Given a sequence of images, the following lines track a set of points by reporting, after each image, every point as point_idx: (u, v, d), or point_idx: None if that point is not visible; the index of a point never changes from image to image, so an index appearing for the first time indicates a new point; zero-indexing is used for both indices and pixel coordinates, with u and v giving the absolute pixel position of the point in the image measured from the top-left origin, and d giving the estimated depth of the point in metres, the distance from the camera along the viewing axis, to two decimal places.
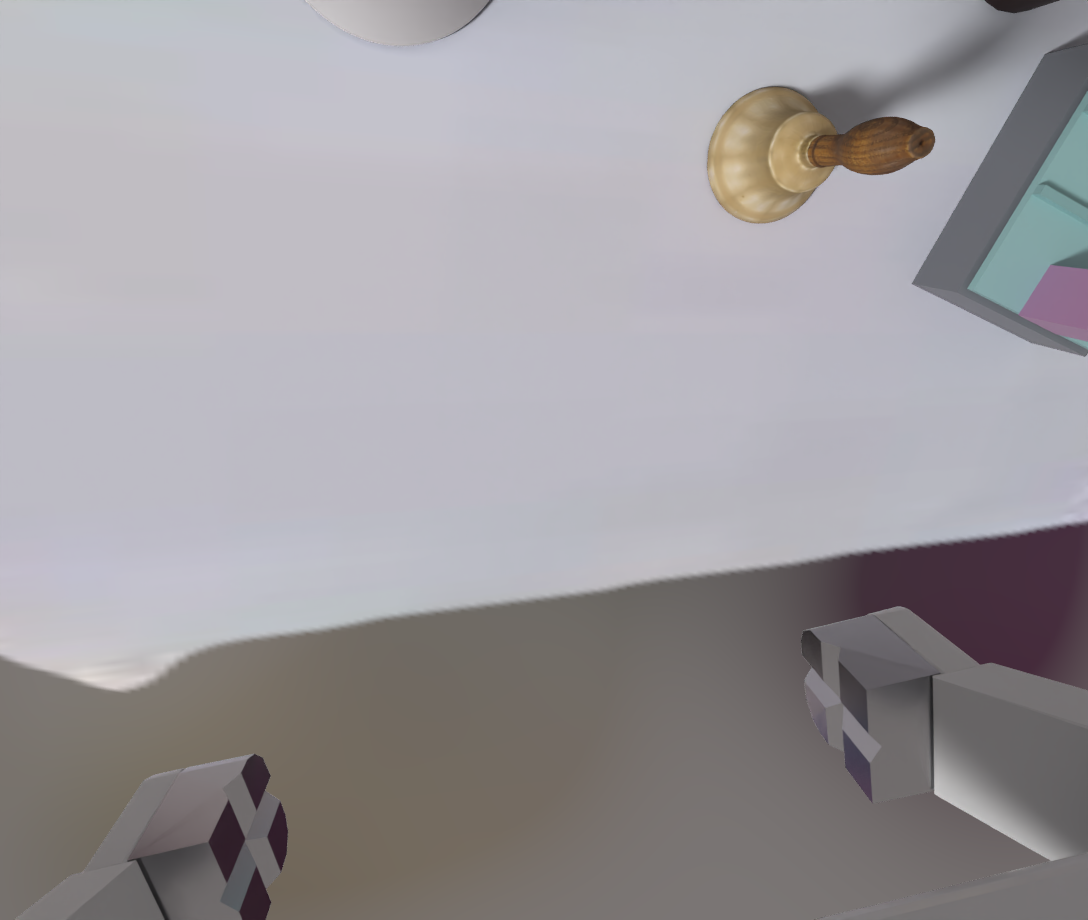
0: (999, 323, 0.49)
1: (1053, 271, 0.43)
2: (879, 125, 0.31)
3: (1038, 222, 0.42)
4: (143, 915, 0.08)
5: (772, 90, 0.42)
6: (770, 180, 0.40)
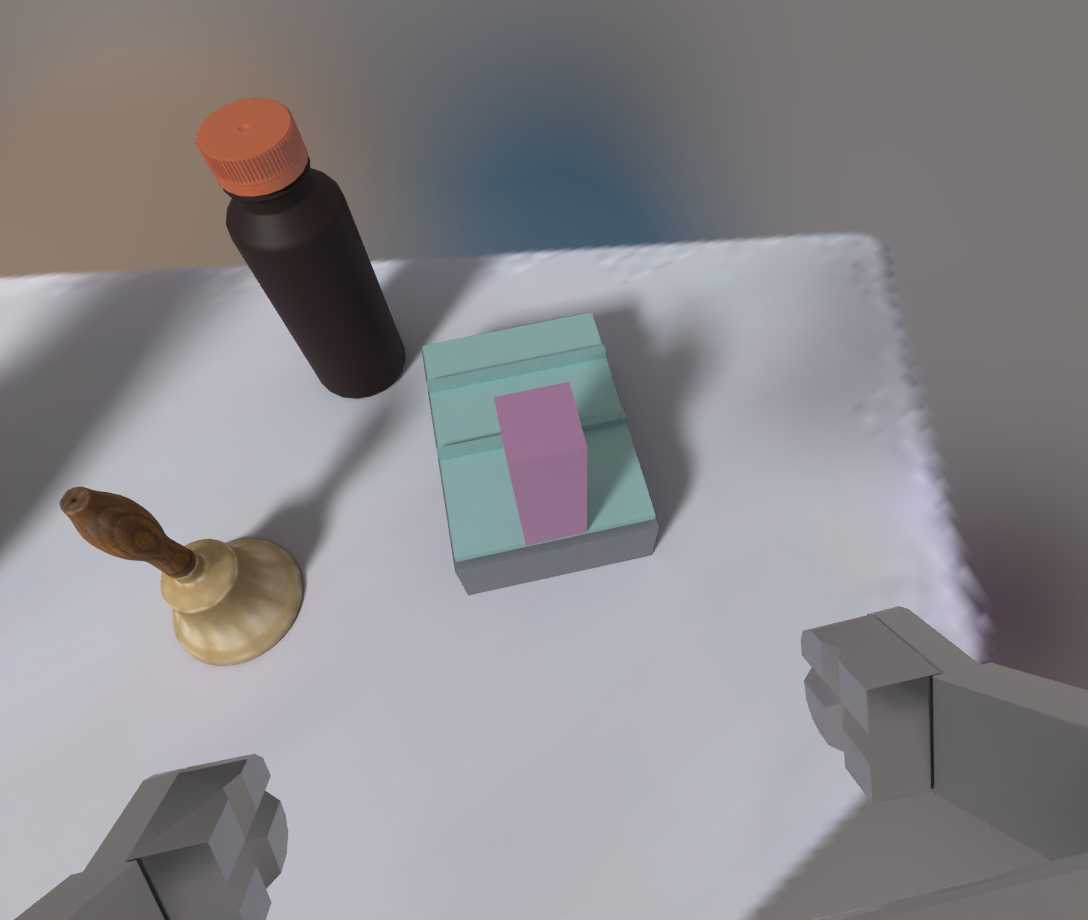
0: (579, 563, 0.41)
1: None
2: None
3: (467, 472, 0.39)
4: (143, 915, 0.08)
5: None
6: (185, 615, 0.37)
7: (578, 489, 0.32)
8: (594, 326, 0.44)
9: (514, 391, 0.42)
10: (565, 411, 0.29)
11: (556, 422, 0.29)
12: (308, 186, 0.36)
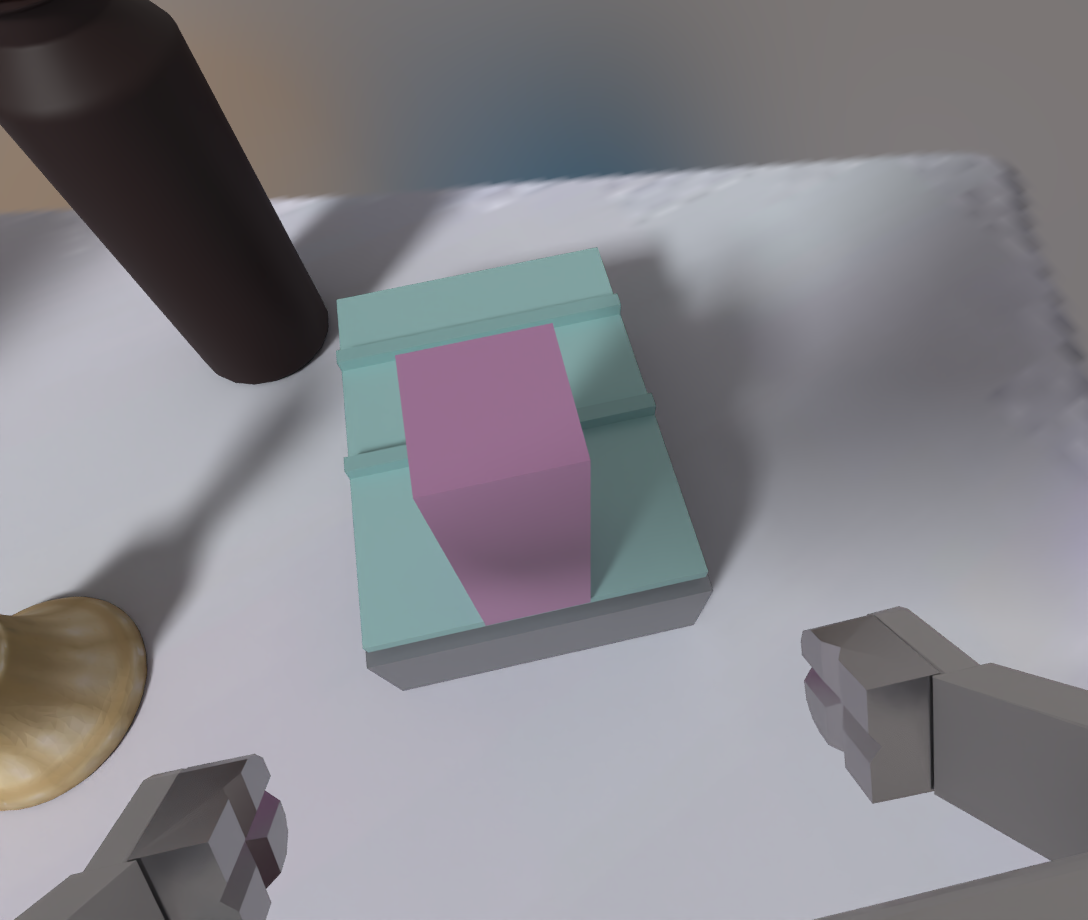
0: (579, 643, 0.25)
1: None
2: None
3: (393, 498, 0.24)
4: (143, 915, 0.08)
5: None
6: None
7: (573, 539, 0.16)
8: (600, 267, 0.28)
9: None
10: (542, 383, 0.14)
11: (523, 405, 0.13)
12: (101, 3, 0.20)
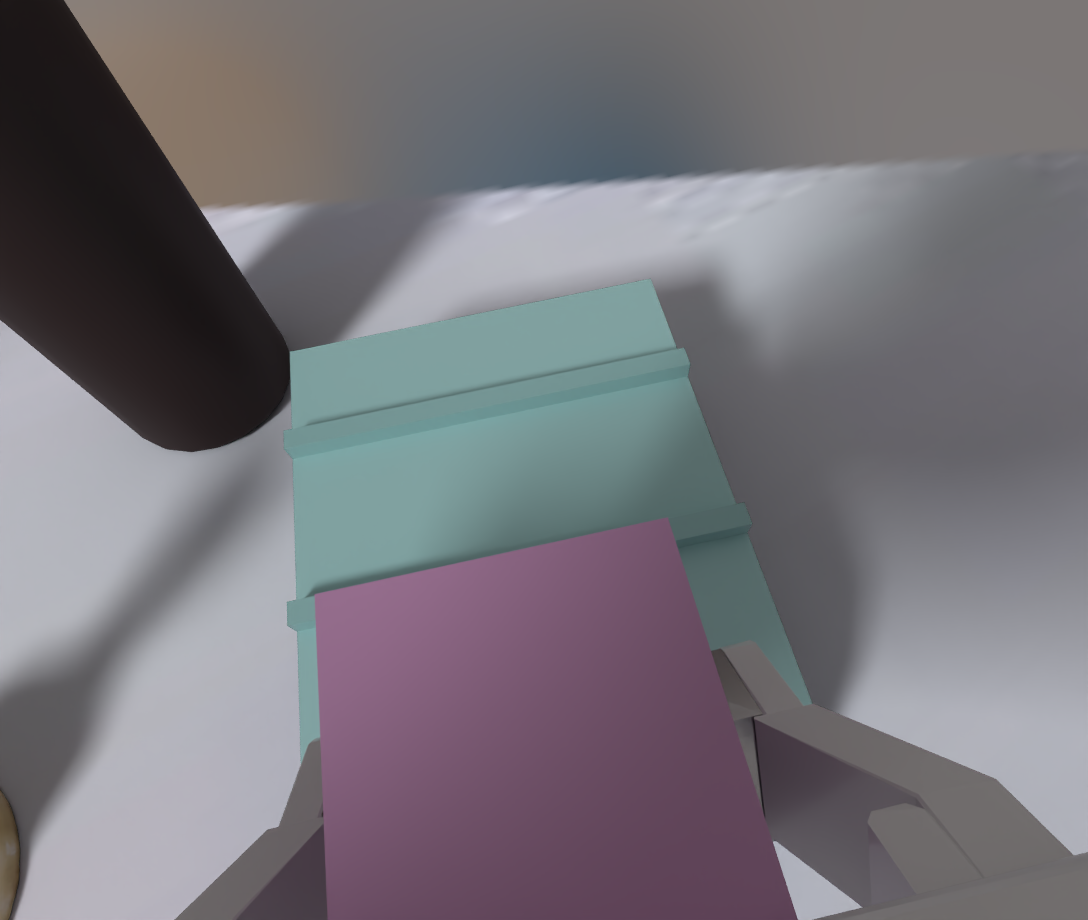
0: None
1: None
2: None
3: None
4: None
5: None
6: None
7: None
8: (656, 308, 0.20)
9: (482, 454, 0.18)
10: (658, 686, 0.06)
11: (618, 752, 0.06)
12: None
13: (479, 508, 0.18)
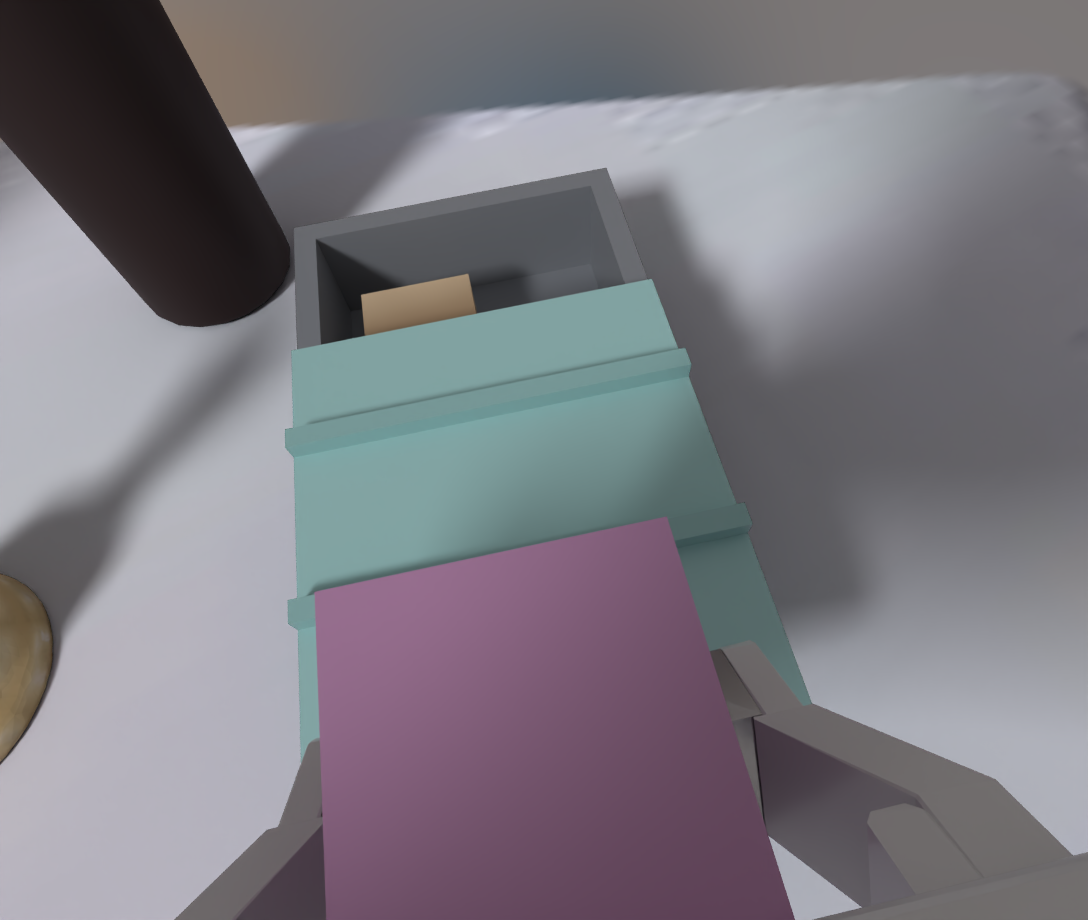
0: None
1: None
2: None
3: None
4: None
5: None
6: None
7: None
8: (658, 308, 0.20)
9: (483, 453, 0.18)
10: (656, 685, 0.06)
11: (614, 750, 0.06)
12: None
13: (480, 507, 0.18)
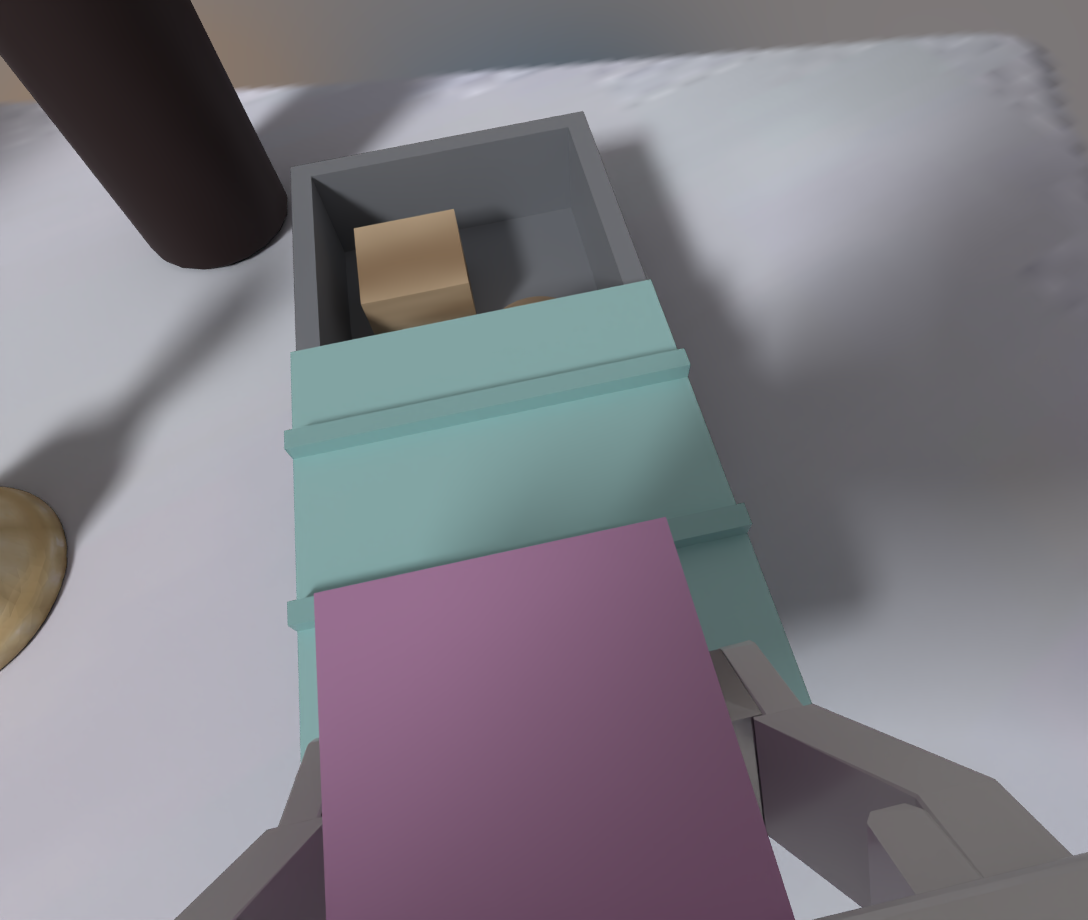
0: None
1: None
2: None
3: None
4: None
5: None
6: None
7: None
8: (656, 308, 0.20)
9: (482, 454, 0.18)
10: (656, 685, 0.06)
11: (614, 752, 0.06)
12: None
13: (479, 508, 0.18)
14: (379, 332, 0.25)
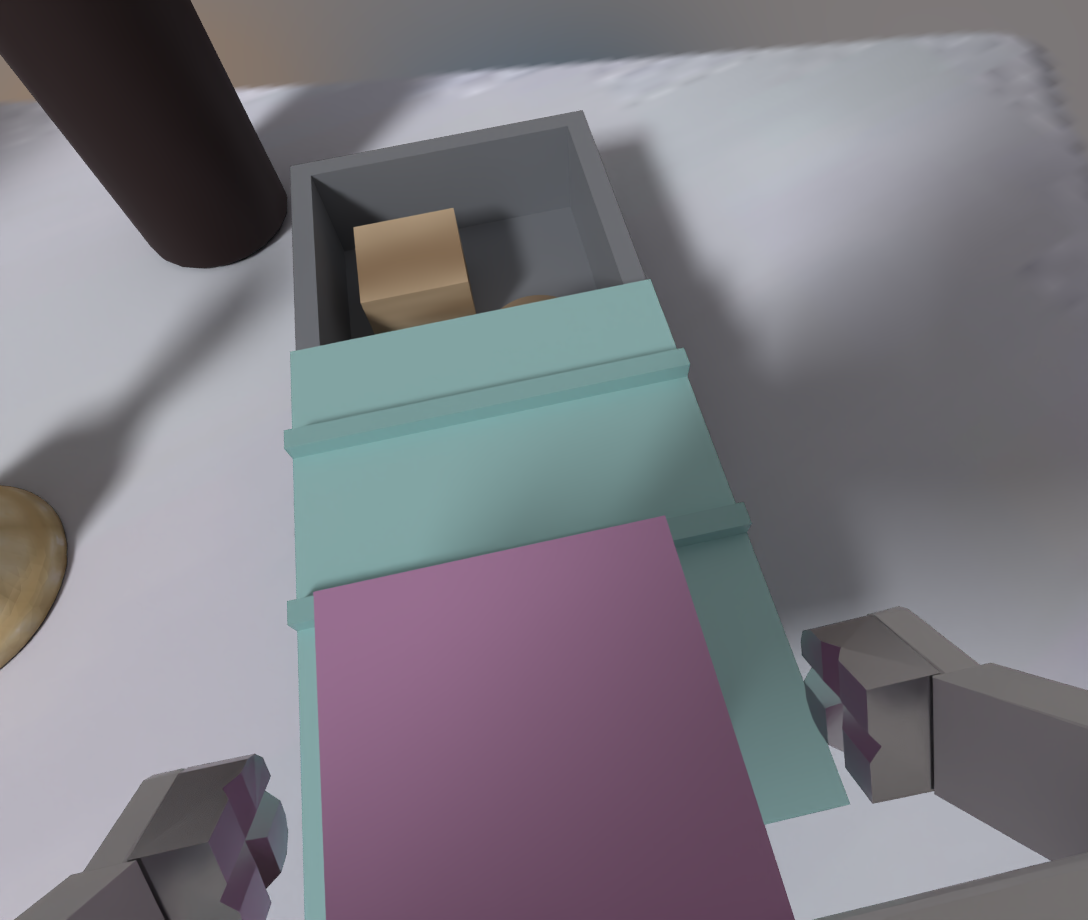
0: None
1: None
2: None
3: None
4: (143, 915, 0.08)
5: None
6: None
7: None
8: (656, 308, 0.20)
9: (482, 454, 0.18)
10: (654, 683, 0.06)
11: (614, 748, 0.06)
12: None
13: (479, 507, 0.18)
14: (379, 331, 0.25)
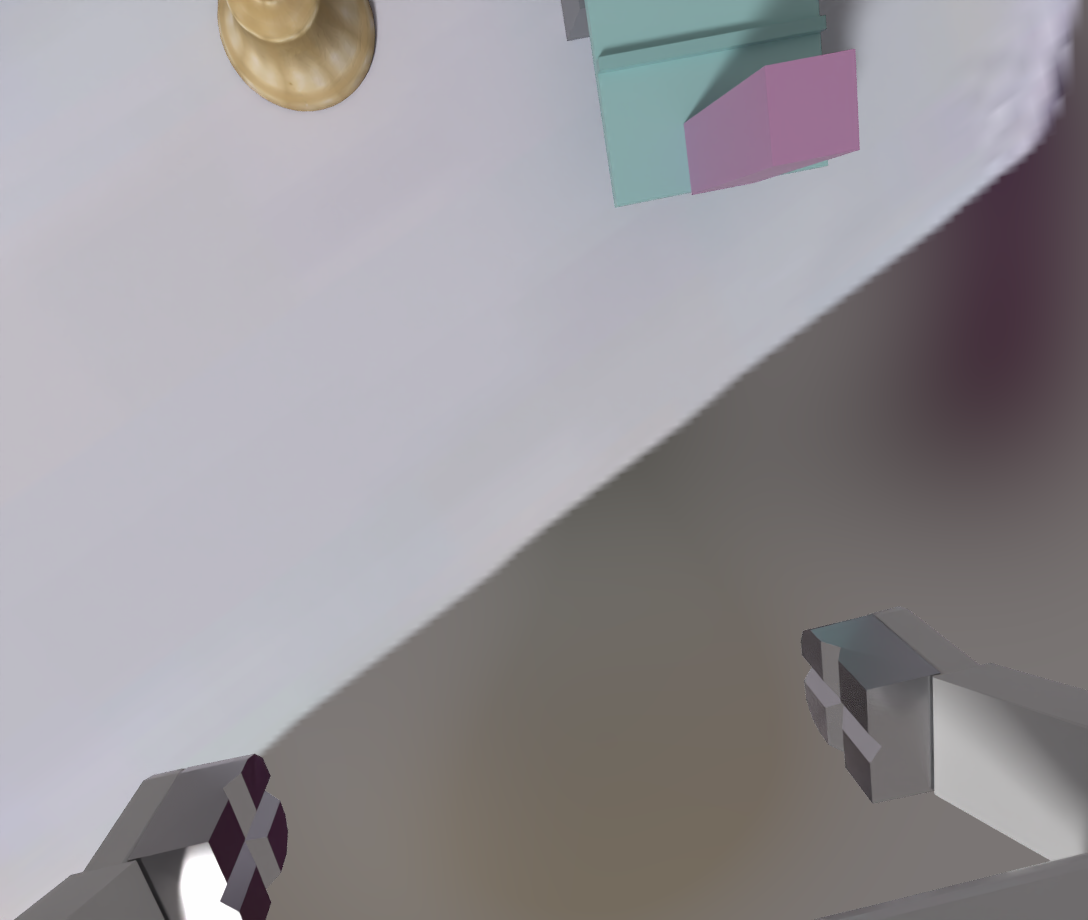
0: None
1: (687, 129, 0.34)
2: None
3: (630, 94, 0.33)
4: (143, 915, 0.08)
5: None
6: (267, 45, 0.32)
7: (799, 167, 0.29)
8: None
9: None
10: (843, 95, 0.25)
11: (832, 110, 0.25)
12: None
13: (688, 4, 0.32)
14: None
